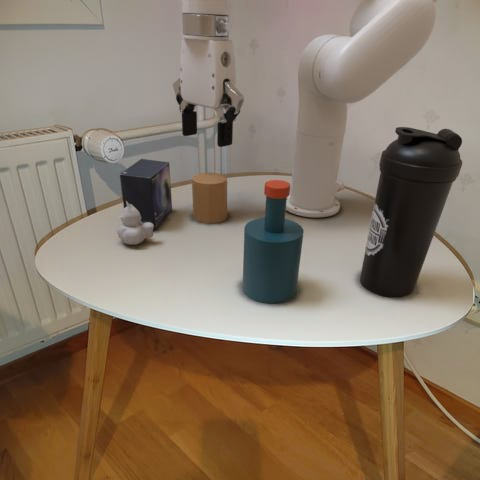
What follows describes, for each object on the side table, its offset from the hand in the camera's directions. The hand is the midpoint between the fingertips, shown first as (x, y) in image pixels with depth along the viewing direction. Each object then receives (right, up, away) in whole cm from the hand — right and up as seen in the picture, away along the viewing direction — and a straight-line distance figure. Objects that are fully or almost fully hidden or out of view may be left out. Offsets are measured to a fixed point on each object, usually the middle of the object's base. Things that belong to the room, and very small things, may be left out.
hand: (206, 140), depth 78 cm
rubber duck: (-13, -20, -1) cm, 23 cm away
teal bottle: (+11, -29, -13) cm, 33 cm away
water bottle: (+30, -28, -11) cm, 42 cm away
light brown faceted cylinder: (0, -12, +9) cm, 15 cm away
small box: (-12, -13, +7) cm, 19 cm away
